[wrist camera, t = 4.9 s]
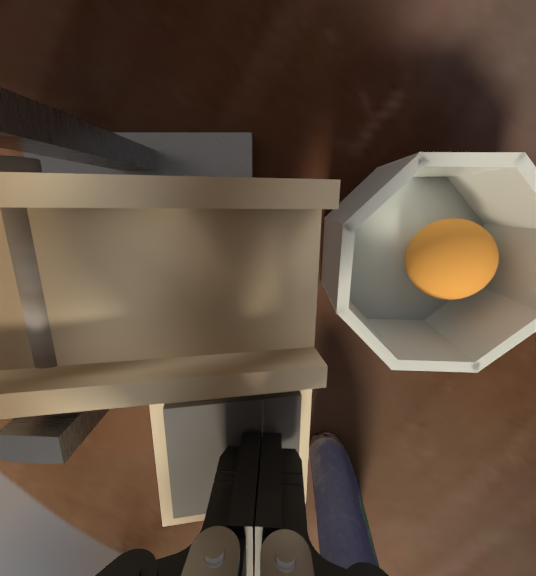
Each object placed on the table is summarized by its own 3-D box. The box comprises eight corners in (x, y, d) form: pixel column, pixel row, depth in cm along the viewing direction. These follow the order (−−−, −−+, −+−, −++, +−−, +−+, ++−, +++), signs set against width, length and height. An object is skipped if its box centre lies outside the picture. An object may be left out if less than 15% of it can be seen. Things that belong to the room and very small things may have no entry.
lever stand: (253, 137, 17) (208, 34, 6) (254, 342, 20) (224, 492, 10) (37, 137, 17) (-329, 40, 7) (72, 337, 20) (-141, 474, 10)
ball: (494, 217, 16) (521, 221, 12) (479, 292, 17) (499, 316, 13) (409, 215, 17) (411, 219, 14) (400, 284, 18) (400, 304, 15)
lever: (313, 169, 11) (351, 157, 8) (299, 481, 15) (321, 553, 12) (-375, 149, 8) (-730, 118, 5) (-170, 552, 11) (-301, 672, 9)
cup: (498, 168, 16) (601, 151, 11) (467, 326, 19) (539, 375, 14) (327, 167, 17) (347, 151, 11) (318, 322, 19) (331, 368, 14)
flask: (303, 434, 22) (324, 647, 11) (345, 426, 21) (406, 638, 11) (330, 531, 24) (367, 782, 14) (368, 525, 24) (436, 778, 13)
